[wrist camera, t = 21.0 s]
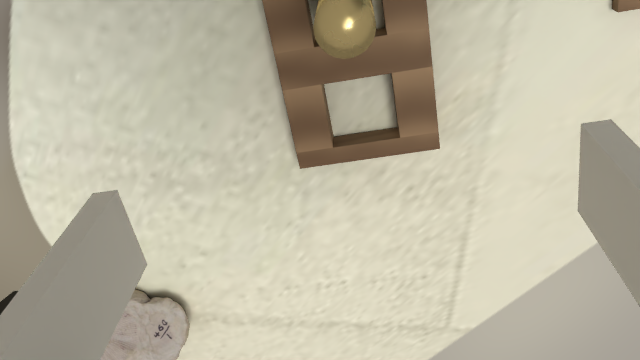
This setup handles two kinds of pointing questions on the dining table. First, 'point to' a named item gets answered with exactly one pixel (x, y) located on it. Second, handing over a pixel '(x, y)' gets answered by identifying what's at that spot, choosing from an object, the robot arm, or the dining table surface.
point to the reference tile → (625, 5)
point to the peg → (344, 27)
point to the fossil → (148, 330)
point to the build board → (380, 58)
